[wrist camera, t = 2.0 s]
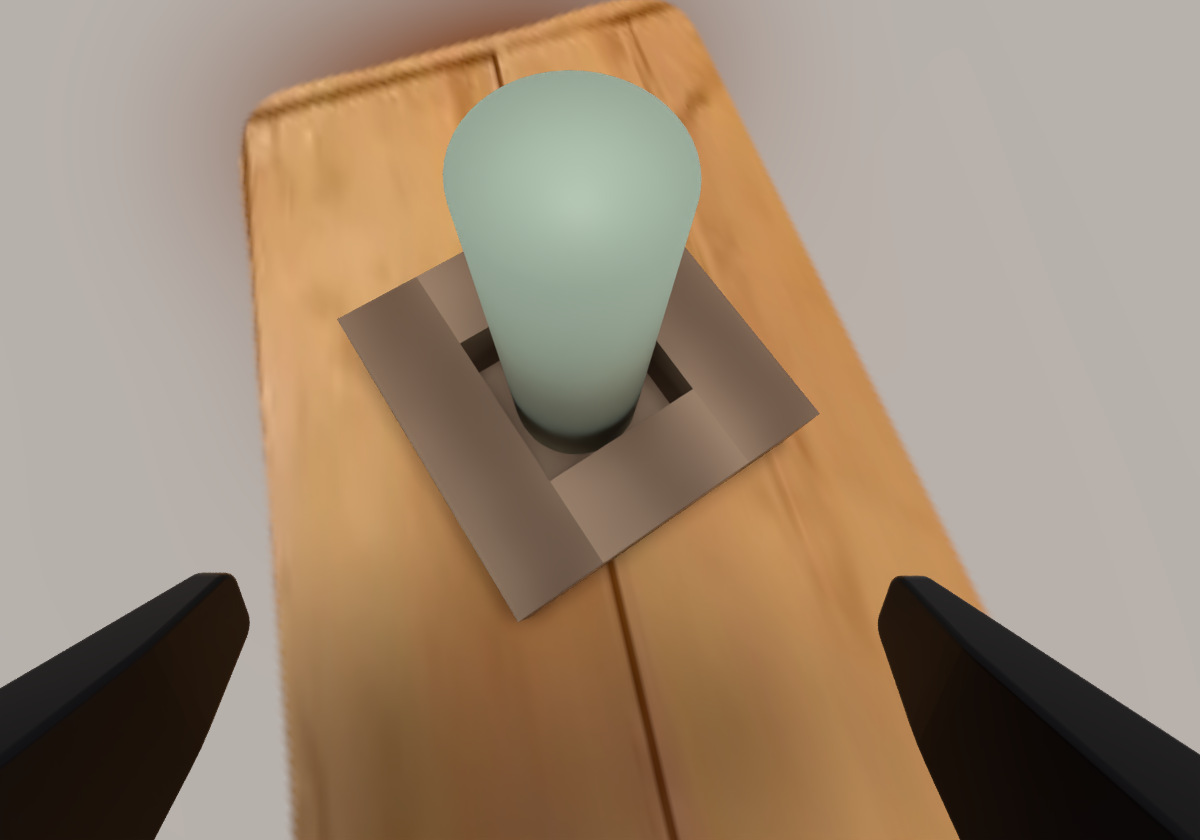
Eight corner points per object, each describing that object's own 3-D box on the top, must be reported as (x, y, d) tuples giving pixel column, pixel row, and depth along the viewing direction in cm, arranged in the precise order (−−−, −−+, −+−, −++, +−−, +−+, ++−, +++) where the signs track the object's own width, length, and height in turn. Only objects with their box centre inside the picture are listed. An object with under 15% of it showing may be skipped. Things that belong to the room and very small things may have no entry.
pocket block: (528, 617, 21) (518, 622, 17) (371, 358, 23) (337, 319, 20) (784, 440, 23) (819, 413, 20) (615, 223, 26) (620, 167, 22)
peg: (557, 478, 22) (531, 332, 10) (492, 378, 23) (396, 137, 11) (661, 411, 23) (752, 204, 11) (593, 319, 24) (607, 36, 12)
